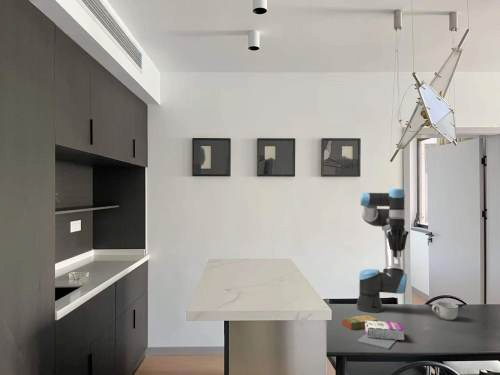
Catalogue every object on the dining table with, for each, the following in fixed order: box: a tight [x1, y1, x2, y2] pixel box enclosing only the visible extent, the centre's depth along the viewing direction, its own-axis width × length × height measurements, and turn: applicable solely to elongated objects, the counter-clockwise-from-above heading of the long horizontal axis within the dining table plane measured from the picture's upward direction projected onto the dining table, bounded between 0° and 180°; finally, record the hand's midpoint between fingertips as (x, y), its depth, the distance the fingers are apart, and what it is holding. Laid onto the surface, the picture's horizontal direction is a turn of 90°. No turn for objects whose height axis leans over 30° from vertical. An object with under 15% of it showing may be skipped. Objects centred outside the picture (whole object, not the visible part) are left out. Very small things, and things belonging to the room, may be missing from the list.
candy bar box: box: [364, 320, 405, 341], centre depth 176 cm, size 11×5×16 cm
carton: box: [341, 314, 379, 331], centre depth 190 cm, size 8×16×4 cm, turn 108°
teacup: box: [431, 300, 459, 321], centre depth 204 cm, size 14×11×8 cm
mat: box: [356, 332, 398, 350], centre depth 170 cm, size 15×14×1 cm
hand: (397, 263), depth 191 cm, fingers closed
